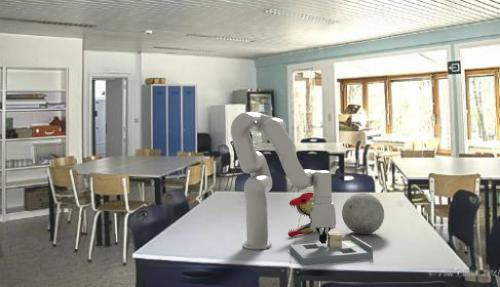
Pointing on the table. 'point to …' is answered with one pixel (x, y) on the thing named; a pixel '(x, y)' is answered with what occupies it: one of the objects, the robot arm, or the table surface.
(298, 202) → the toy
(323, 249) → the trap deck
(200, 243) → the table surface
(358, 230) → the decorative sphere
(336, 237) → the beech cube
